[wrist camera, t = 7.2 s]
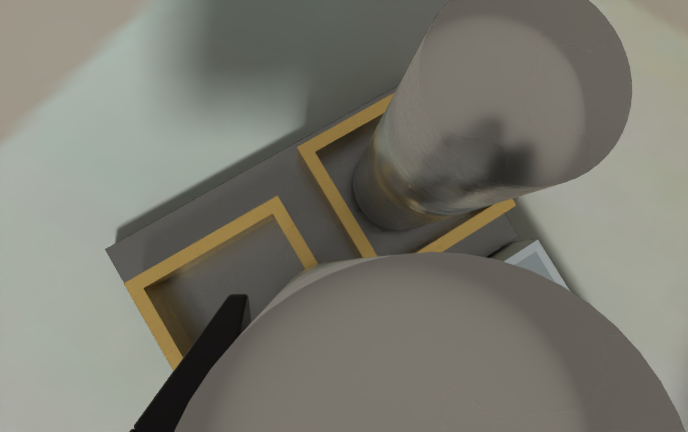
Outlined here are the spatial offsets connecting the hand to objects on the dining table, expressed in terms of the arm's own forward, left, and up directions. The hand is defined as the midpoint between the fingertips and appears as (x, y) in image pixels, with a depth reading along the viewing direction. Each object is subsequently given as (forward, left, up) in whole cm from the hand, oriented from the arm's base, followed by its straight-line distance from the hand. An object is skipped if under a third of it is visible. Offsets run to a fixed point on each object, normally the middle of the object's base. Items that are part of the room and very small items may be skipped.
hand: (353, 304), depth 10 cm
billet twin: (+6, +2, -11) cm, 13 cm away
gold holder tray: (+1, +2, -12) cm, 13 cm away
